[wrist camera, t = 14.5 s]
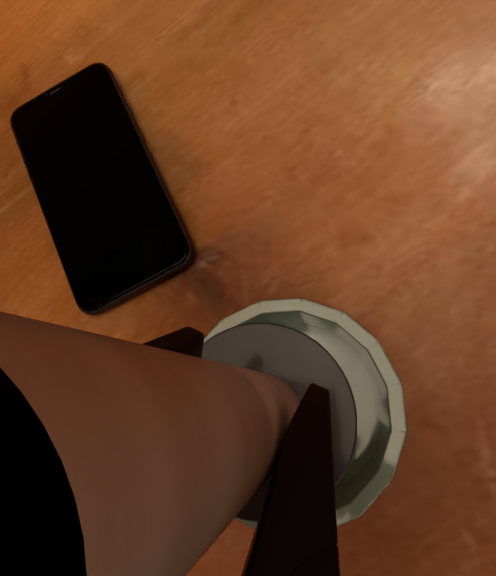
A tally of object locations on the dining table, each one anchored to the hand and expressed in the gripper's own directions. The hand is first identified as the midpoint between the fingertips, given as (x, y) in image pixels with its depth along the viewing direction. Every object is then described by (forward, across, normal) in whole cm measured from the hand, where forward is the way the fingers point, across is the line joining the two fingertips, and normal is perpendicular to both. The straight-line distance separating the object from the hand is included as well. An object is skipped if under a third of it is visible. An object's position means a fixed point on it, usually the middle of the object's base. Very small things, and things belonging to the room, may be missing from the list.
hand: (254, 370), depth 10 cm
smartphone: (+14, +16, +6) cm, 21 cm away
